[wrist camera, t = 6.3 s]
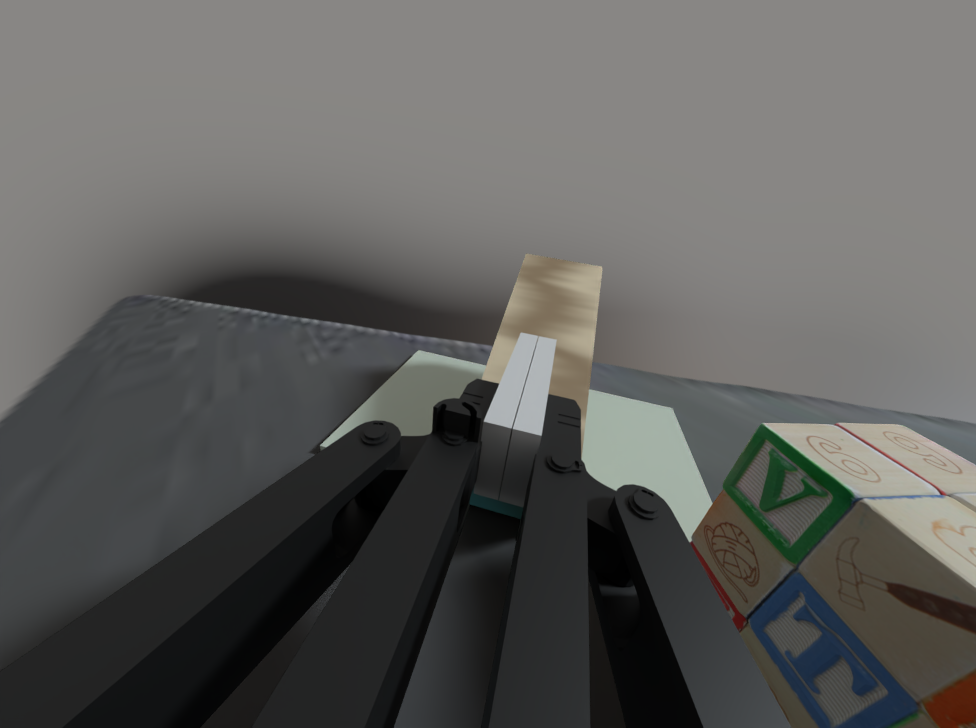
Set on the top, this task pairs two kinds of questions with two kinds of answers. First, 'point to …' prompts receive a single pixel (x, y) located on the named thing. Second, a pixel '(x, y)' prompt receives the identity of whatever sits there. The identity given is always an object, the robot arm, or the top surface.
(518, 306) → the maple block
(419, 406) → the sage cutting board
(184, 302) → the top surface
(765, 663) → the stack of blocks
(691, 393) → the top surface
